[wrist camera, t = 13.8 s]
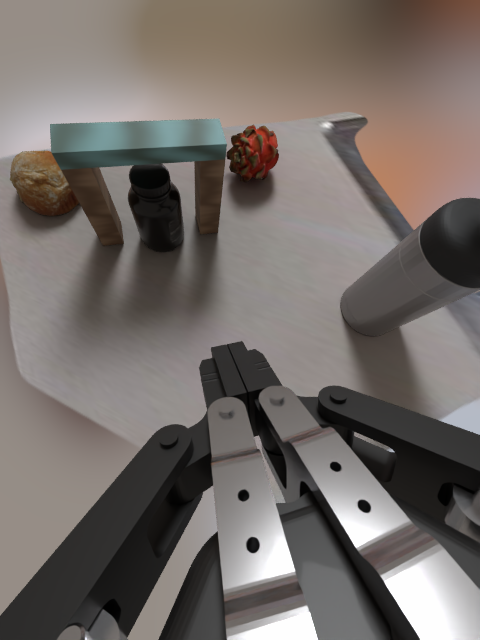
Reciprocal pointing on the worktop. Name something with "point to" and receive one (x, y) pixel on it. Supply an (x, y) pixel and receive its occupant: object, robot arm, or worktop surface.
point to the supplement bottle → (156, 207)
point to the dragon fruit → (253, 153)
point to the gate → (139, 163)
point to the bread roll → (42, 183)
